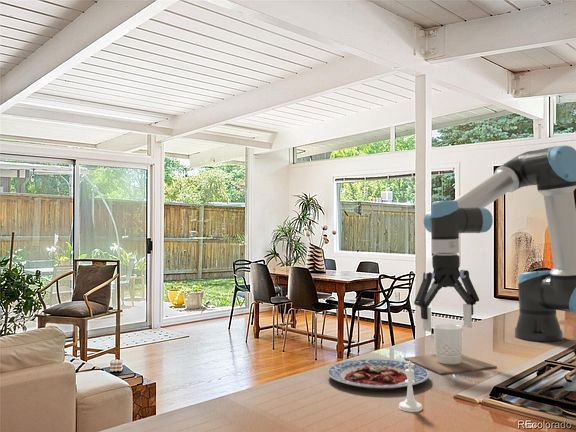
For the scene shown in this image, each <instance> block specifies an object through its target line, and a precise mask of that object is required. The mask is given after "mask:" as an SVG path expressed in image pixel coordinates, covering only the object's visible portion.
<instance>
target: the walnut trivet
mask: <svg viewBox="0 0 576 432" xmlns="http://www.w3.org/2000/svg"><path fill="white" fill-rule="evenodd" d="M404 359H405V360H404V361H406V362H408V361H411V362H412V363H411V364H414V365H417V366H420V367H422V368H424V369H425V370H427V371H430V372H432V373H435V374H437V375H440V376H445V375H452V374H460V373H468V372H477V371H484V370H485V371H486V370H491V369H497V368H498V367H497V365H495V364H493V363H492V364H491V363H488V362H485V361H484V360H480V359H476V358H473V357H471V356H468V355H465V354H462V353H461V363H460V364H455V365H454V364H453V365H452V364H442V363H439V362H437V359H436V353H435V354H434V353H433V354H425V355H418V356H409V357H408V356H407V357H404Z"/></svg>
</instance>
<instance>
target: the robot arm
mask: <svg viewBox="0 0 576 432" xmlns="http://www.w3.org/2000/svg"><path fill="white" fill-rule="evenodd" d="M531 186H536V188H537V192H538V193H540V194H541V195H542V196H543V202H544V206H545V207H544V208H545V209H544V210H545V215H546V221H547V229H548V236H549V242H550V247H551V249H550V250H551V257H552V262H553V268H552V269H550V270H539V271H527V272H526V271H525V272H521V273H520V274H519V275H518V283H517V286H518V287H517V288H518V289H517V290H518V305H519V306H518V308H519V314H518V315H519V316H518V319H517V322H516V325H515V328H514V337H516V338H518V339H522V340H525V341H526V340H527V341H534V342H558V341H562V340H564V332H563V330H562V329H561V326H560V323H559V320H558V319H559V318H558V317H557V311H562V312H569V313H572V314H576V203H575V202H576V201H575V197H574V191H575V190H576V149H575V148H574V147H573V146H570V145H557V146H556V145H554V146H550V147H545V148H540V149H535V150H528V151H526V152H523V153H521V154H518V155H516V156H514V157H513V158H511V159H509V160H508V161H507V162H505V163H503V164H502V165H500V166H498V167H497V168H495V170H494V173H493V174H492V175H490V176H489V177H487V178H486V179H484V180H482V181H481V182H480V183H478V184H477V185H475V186H473V187H472V188H470V189H469V190H467V191H466V192H464V193H463V194H461V195H460V196H458V197H456V198H455V199H454V200H450V199H449V200H448V199H447V200H434V201H433V202H431V205H430V210H429V211H427V212H426V213H425V215H424V218H423V226H424V228H425V230H426V231H427V232H429V233H431V253H432V254H434V255H432V256H431V258H432V259H431V261H432V269H433V271H432V272H430V271H424V272H423V275H422V276H423V277H422V282H421V284H420V287H419V289H418V291H417V294H416V297H415V299H414V301H413V302H414V303H413V305H414V306H418V307H420V318H421V320H423V321H422V322H423V326H422V327H423V331H427V332H429V333H430V332H432V308H431V307H429V306H430V304H432V301H433V300H434V299H435V297H436V295H437V294H438V293H439V291H440V290H442V288H454V290H455V291H456V292H457V294H458V295H459V296H460V297H461V299H462V300H463V301H464V302H465V303H463V304H462V306H463V307H462V308H463V309H462V311H463V312H462V313H463V327H466V328H469V329H471V328H473V318H472V316H473V315H474V305H476V304H477V302H480V298H479V295H478V294H477V291H476V290H475V287H474V285H473V283H472V280H471V278H470V271H469V270H465V269H459V268H460V266H461V262H460V260H461V259H460V257H461V256H459V253H460V234H481V233H486V232H488V231H489V230H491V228H492V226H493V223H494V222H493V215H492V213H491V211H490V210H489V209H487V208H486V207H487V206H489V205H490V204H491V203H494V202H495V201H496V200H497V199H499V198H501V197H502V196H504V195H506V194H507V193H513V192H515V191H517V190H519V189H521V188H524V187H525V188H526V187H531ZM459 279H460V280H461V281H460V280H459ZM432 280H433V281H432ZM463 286H464V287H463Z"/></svg>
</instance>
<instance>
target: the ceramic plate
mask: <svg viewBox="0 0 576 432" xmlns="http://www.w3.org/2000/svg"><path fill="white" fill-rule="evenodd" d="M405 364H408V362H407V361H406V362H405V361H399V360H391V359H377V358H376V359H374V358H373V359H356V360H347V361H343V362H339V363H336V364H334V365H332V366H330V367H329V368H328V369H327V375H328V377H330V378H331V379H333V380H334V381H336V382H338V383H342V384H345V385H350V386H353V387H358V388H361V389H362V388H363V389H368V390H394V389H399V388H404V387H408V383H405V380H407V376H406V373H405V370H406V369H408V367H406V366H405ZM411 369H413V370H414V374H413V378H412V380H414V381H415V383H413V384H412V386H415V385H419V384H420V383H421V384H422V383H423V382H426V381H427V380H428V379H429V377H430V373H429V370H428V369H426V368H423V367H421V366H419V365H416V364H414V366H411Z"/></svg>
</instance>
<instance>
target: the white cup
mask: <svg viewBox="0 0 576 432" xmlns="http://www.w3.org/2000/svg"><path fill="white" fill-rule="evenodd" d="M433 338H434V350H435V354H436V359H437V362H439V363H442V364H452V365H453V364H454V365H455V364H460V363H461V354H462V353H463V326H462V325H458V324H450V323H439V324H434V325H433Z"/></svg>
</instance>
